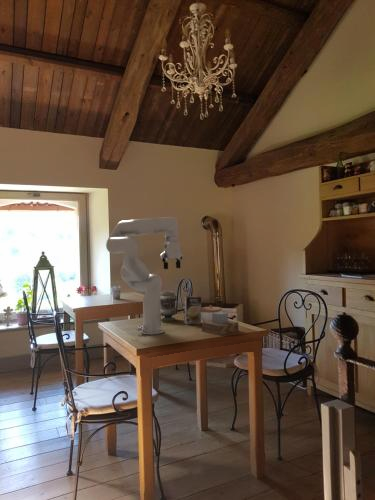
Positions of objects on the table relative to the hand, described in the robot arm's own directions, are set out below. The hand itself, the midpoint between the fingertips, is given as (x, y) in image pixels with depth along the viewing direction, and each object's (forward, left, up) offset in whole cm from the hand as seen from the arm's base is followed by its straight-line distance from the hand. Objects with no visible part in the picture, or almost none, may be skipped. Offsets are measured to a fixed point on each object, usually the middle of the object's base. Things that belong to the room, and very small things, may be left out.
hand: (172, 268), depth 226 cm
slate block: (+6, -31, -29) cm, 43 cm away
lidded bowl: (+17, -15, -34) cm, 40 cm away
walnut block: (+6, -31, -34) cm, 46 cm away
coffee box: (+10, -6, -33) cm, 35 cm away
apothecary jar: (+8, +14, -34) cm, 37 cm away
